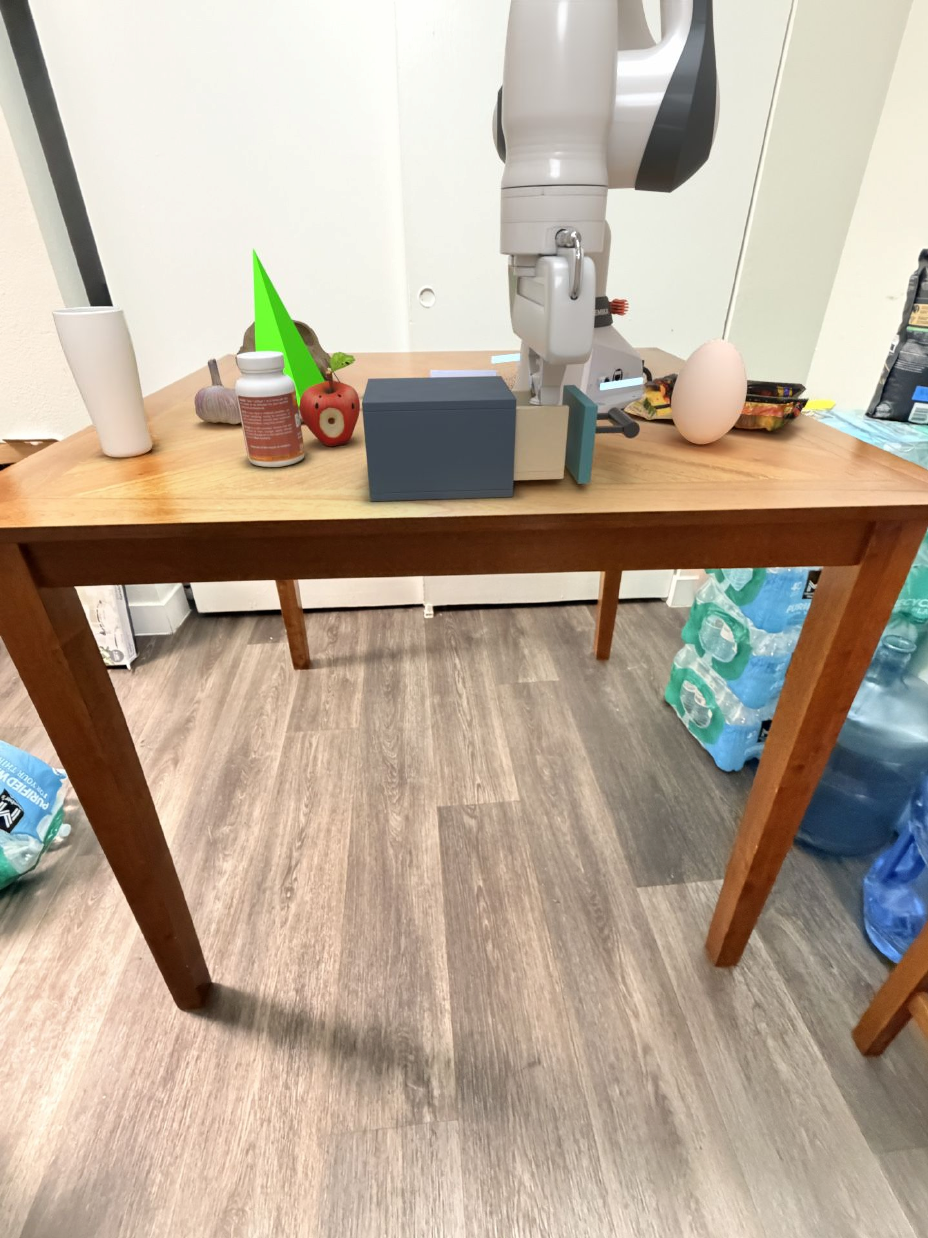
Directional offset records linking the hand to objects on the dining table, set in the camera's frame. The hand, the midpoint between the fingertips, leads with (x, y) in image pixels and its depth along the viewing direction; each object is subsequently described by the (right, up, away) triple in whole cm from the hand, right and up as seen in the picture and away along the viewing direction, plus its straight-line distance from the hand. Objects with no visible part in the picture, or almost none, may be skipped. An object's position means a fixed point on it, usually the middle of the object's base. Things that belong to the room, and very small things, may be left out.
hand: (543, 398), depth 60 cm
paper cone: (-37, +29, +25) cm, 53 cm away
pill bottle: (-29, -4, +10) cm, 30 cm away
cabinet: (-10, -7, +4) cm, 13 cm away
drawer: (0, -6, +4) cm, 7 cm away
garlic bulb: (-39, +5, +23) cm, 46 cm away
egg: (+20, -1, +14) cm, 25 cm away
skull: (-35, +15, +42) cm, 56 cm away
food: (+26, +10, +23) cm, 36 cm away
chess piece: (0, -5, +3) cm, 6 cm away
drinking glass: (-47, -2, +13) cm, 49 cm away
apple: (-23, 0, +15) cm, 28 cm away
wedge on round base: (-10, +5, +23) cm, 25 cm away
